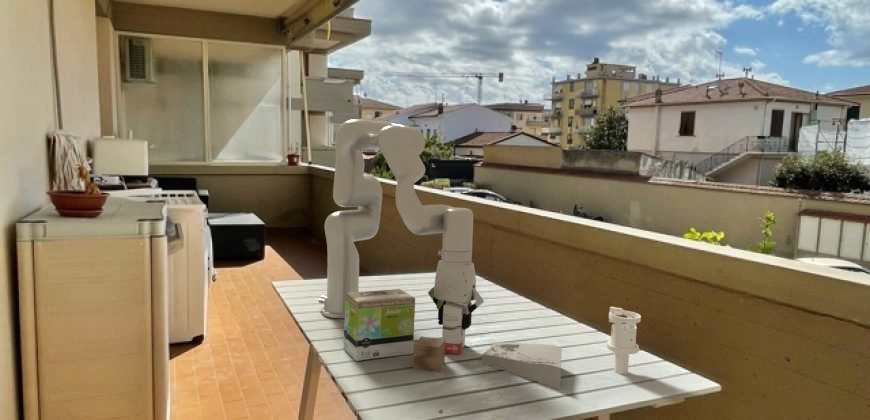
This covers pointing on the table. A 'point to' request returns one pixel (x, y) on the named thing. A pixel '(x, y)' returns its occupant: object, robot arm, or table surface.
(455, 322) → the ink box
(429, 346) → the walnut block
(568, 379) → the table surface
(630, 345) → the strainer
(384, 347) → the tea box
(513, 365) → the ramp
